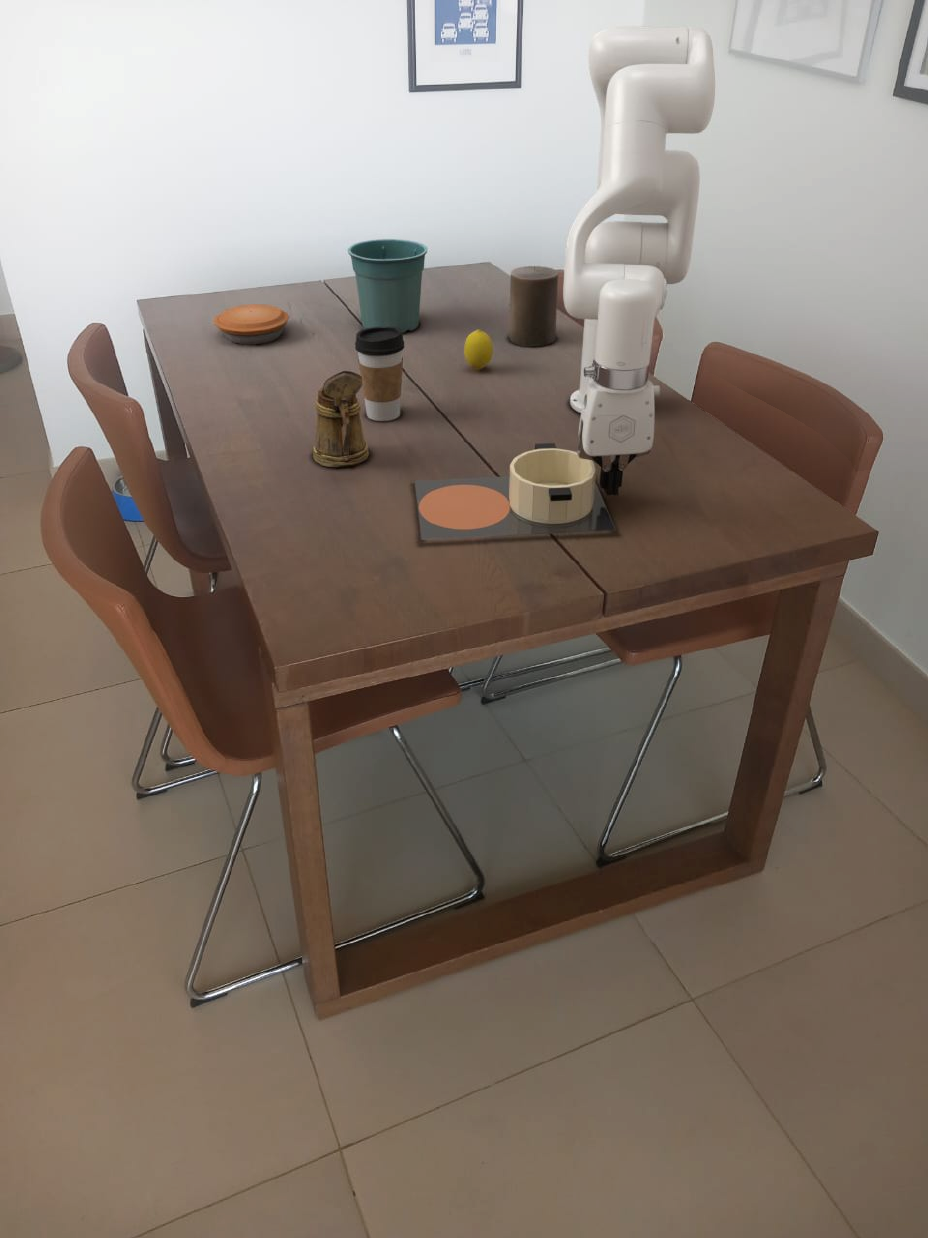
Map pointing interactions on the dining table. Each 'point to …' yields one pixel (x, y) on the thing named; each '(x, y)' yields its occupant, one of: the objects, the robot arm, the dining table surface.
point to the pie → (252, 323)
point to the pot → (551, 485)
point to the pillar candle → (533, 305)
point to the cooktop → (488, 511)
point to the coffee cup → (381, 370)
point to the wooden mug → (340, 422)
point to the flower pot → (389, 281)
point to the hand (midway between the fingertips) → (609, 491)
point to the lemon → (478, 349)
